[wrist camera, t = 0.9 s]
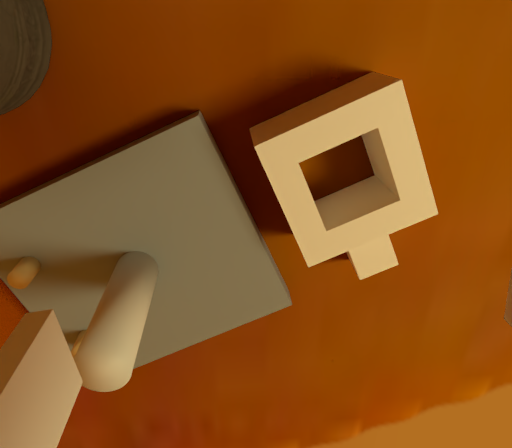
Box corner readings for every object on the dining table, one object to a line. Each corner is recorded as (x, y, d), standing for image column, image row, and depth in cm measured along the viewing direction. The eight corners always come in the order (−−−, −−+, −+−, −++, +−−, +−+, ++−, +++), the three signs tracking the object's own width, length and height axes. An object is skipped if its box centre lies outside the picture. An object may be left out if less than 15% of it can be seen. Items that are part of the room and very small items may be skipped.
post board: (199, 109, 28) (185, 160, 17) (288, 290, 35) (318, 409, 24) (-26, 216, 30) (-167, 321, 19) (98, 367, 37) (45, 510, 26)
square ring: (249, 128, 29) (253, 146, 24) (372, 71, 28) (401, 79, 23) (314, 274, 34) (328, 311, 30) (420, 230, 33) (451, 262, 29)
